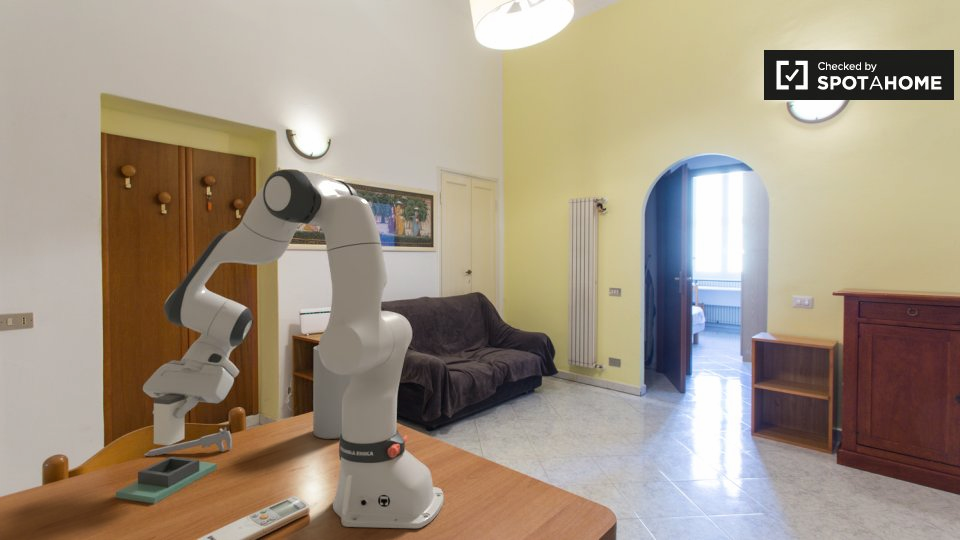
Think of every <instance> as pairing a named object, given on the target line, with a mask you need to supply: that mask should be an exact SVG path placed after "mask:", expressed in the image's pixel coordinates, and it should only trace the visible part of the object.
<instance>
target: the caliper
mask: <svg viewBox="0 0 960 540" xmlns="http://www.w3.org/2000/svg"><path fill="white" fill-rule="evenodd" d="M218 431H219V432H217V433H212V434H208V435H204V436H201V437H200V438H197V439H194V440H190V441H183V442H181V443H180V442H179V443H174V444H171V445H169V446H168V445H165V446H162V447H159V448H154V449H150V450H149V451H148V452H146V453H145V454H143V455H142V456H143V457H147V456H148V457H156V456H155V455H157V456H161V455H164V454H168V453H173V452H178V451H182V450H186V449H190V448H195V447H198V446H199V447H200V446H201V448H202V449H203V448H207V447H210V446H212V445H214V444H215V445H216V447H217V448H218V450H219V451H220V452H224V451H225V445H226V447H227V451H228V452H230V450H231V449H233V444H232V443H233V440H232V439H233V438H232V434H231V432H230V430H227V427H224V428H219V430H218ZM224 441H225V445H224V443H223V442H224Z"/></svg>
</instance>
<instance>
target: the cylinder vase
mask: <svg viewBox="0 0 960 540" xmlns="http://www.w3.org/2000/svg"><path fill="white" fill-rule="evenodd" d="M351 378H352V374H350V375H339V374H335V373H333V372H331V371H329V370H328V369H327V368H326V367H325V366H324V364H323V363H322V361H321V359H320V356H319V344H318V345H316V346H314V347H313V379H312V380H313V384H312V385H313V387H312V388H313V390H312V391H313V392H312V393H313V397H312V398H313V400H312V404H313V406H312V407H313V411H312V413H313V414H312V415H313V416H312V417H313V421H312V424H313V425H312V427H313V428H312V429H313V430H312V431H313V435H314V436H315V437H317V438H320V439H324V440H338V439H339V440H340V435H341V434H342V398H343V395H344V393H345V391H346V389H347V387H348V385H349V383H350V381H351Z"/></svg>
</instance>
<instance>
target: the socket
mask: <svg viewBox="0 0 960 540" xmlns="http://www.w3.org/2000/svg"><path fill="white" fill-rule="evenodd" d="M217 465H218V464H217V463H213V462H207V461H200V459H195V458H185V457H178V456H168V457H167V458H165V459H162V460H160V461H157V462H156V463H154V464H151V465H149V466H147V467H145V468H143V469H141V470H139V471H137V481H135V482H133V483H130V484H129V485H127V486H125V487H123V488H121V489H118V490H116V491H115V498H116V499H123V500H128V501H129V500H130V501H137V502H143V503H147V504H156V503H158V502H160V501H162V500H163V499H165V498H167V497H169V496H171V495H173V494H175V493H176V492H178V491H179V490H182V489H183V488H185V487H186V486H187V487H188V485H189V486H190V484H192V483H194V482H196V481H198V480H199V479H202V478H203V477H205V476H206V475H208V474H210V473H211V472H213V471H216V470H217V469H218V466H217Z"/></svg>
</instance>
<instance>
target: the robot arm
mask: <svg viewBox="0 0 960 540" xmlns="http://www.w3.org/2000/svg"><path fill="white" fill-rule="evenodd" d="M301 224H305V225H309V226H312V227H313V226H315V227H320V228H321V230H322V231H323V234H324V239H325V245H326V253H327V254H326V255H327V259H328V266H329V272H330V280H331V290H332V291H331V295H332V296H331V304H330V305H331V306H330V313H329V319H328V322H327V324H326V327H325V329H324V331H323V333H322V334H321V336H320V338H319V342H318V345H319V356H320V359H321V361H322V363H323V364H324V366H325V367H326V368H327V369H328V370H329V371H331V372H333V373H335V374H339V375H350V374H352V378H351V381H350V383H349V385H348V387H347V389H346V391H345V393H344V395H343V398H342V434H341V435H340V438H339V441H338V442H339V445H338V447H339V448H338V453H339V454H338V456H339V460H340V468H339V476H338V482H337V487H336V491H335V496H334V499H333V501H332V502H333V503H332V509H333V511H334V513H336V515H337V516H339V517H340V521H341V525H342V526H343V527H347V528H349V527H352V528H381V529H383V528H385V529H386V528H387V529H389V528H391V529H420V528H423V527H425V526H426V525H428V524H429V523H431V522H432V521H433V520H434V519H435V518H436V517H437V516H438V514H439V513H440V511H441V509H442V507H443V504H444V500H445V499H444V497H445V496H444V492H443V490H442V489H441V488H440V487H436V486H434V483H433V477H432V473H431V471H430V469H429V468H428V466H426V465H425V464H424V463H422V462H421V461H420V460H419V459H417V458H416V457H415V456H414V455H412V454H411V453H410V452H409V451H408V450H407V449H405V448H406V444H405V443H406V442H407V441H408V440H409V439H408V434H405V435H404V436H402V435H401V434H400V433H399V430H398V429H397V418H398V417H397V416H398V415H397V413H398V411H397V410H398V394H399V386H400V382H401V376H402V373H403V372H402V370H403V367H404V363H405V362H404V361H405V357H406V354H407V351H408V348H409V347H410V344H411V343H412V340H413V329H412V326H411V323H410V321H409V320H408V319H407V318H406V317H405V316H404V315H402V314H400V313H398V312H393V311H388V310H382V299H383V294H384V290H385V288H386V285H387V282H388V275H387V269H386V263H385V258H384V252H383V246H382V241H381V236H380V231H379V227H378V224H377V221H376V218H375V214H374V212H373V209H372V207H371V205H370V203H369V202H368V201H367V200H366V199H365V198H363V197H361V196H359V195H358V193H357V191H356V190H355V189H354V188H353V187H352V186H351V185H350V184H348V183H346V182H344V181H342V180H338V179H333V178H331V177H327V176H326V175H325V176H324V175H323V174H319V173H315V172H309V171H300V170H298V169H292V168H291V169H286V168H285V169H280V170H276V171H274V172H272V173H271V174H270V175H269V177H267V179H266V181H265V183H264V185H263V186H262V187H260V189H259V191H258V192H257V193H256V195H255V196H254V198H253V199H252V201H251V203H249V205H248V208H247V209H246V211H245V213H244V215H243V217H242V220H241V222H240V223H239V224H238V226H236V227H235V228H234V229H233V230H231V231H229V230H227V231H226V230H224V231H222V232H220V233H219V234H217V235H216V236H215V238H213V240H211V242H210V243H209V244H208V245H207V246H206V248H205V249H204V250H203V252H202V253H201V254H200V255H199V257H198V258H197V260H196V261H195V263H194V264H193V265H192V267H191V268H190V269H189V271H188V273H187V274H186V275H185V276H184V278H183V280H181V282H180V283H179V285H178V286H177V287H176V288H175V289H174V290H173V291H172V292H171V293H170V294H169V296H168V297H167V298H166V300H165V303H164V305H163V307H162V308H163V311H164V315H165V317H166V319H167V321H168V322H169V323H170V324H173V325H176V326H180V327H183V328H188V329H190V330H192V331H195V332H197V333H199V334H200V336H199V338H197V340H194V341H193V343H192V344H191V346H190V347H189V348H188V350H187V351H186V353H185V354H184V355H183V356H182V357H181V359H180V360H176V359H175V360H174V359H173V360H170V361H168V362H167V363H164V364H162V365H160V367H158V369H156V370H155V372H153V374H151V376H150V377H149V378H148V379H147V380H146V381H145V383H144V384H143V386H142V391H143V392H144V393H145V394H146V395H147V396H149V397H150V398H157V397H161V396H164V395H167V394H177V395H185V404H183V405H182V406H181V407H180V408H176V410H175V412H174V413H173V416H174V417H175V418H181V419H182V418H183V417H184V416H186V414H187V412H189V411H190V410H192V409H193V408H195V407H196V406H197V405H198V403H199V402H200V403H209V404H211V403H212V404H219V403H221V402H223V401H224V400H225V399H226V397H227V395H228V394H229V392H230V390H231V389H232V387H233V384H234V382H235V378H236V377H238V375H239V373H240V370H239V368H237V366H236V365H235V364H234V362H232V361H231V360H230V355H231V353H232V351H234V349H235V348H237V346H239V345H240V344H242V343H243V342H244V341H245V339H246V337H247V336H248V334H249V333H250V331H251V330H252V328H253V326H254V316H253V315H252V312H251V310H250V308H249V307H247V306H245V305H244V304H242V303H239V302H237V301H235V300H232V299H229V298H226V297H224V296H222V295H220V294H217V293H215V292H213V291H210V290H209V289H207V287H206V283H208V281H209V279H210V278H211V276H213V274H214V272H216V271H215V270H217V268H218V267H219V266H220V264H224V263H225V264H226V263H236V264H245V265H254V266H255V265H266V264H267V265H268V264H271V263H273V262H275V261H277V260H279V259H280V258H281V257H282V256H283V255H284V253H286V251H287V249H288V247H289V246H290V244H291V241H292V240H293V239H294V238H293V237H294V235H295V234H296V231H297V229H298V227H299V226H300V225H301ZM152 414H153V415H154V409H153V410H152Z"/></svg>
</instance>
